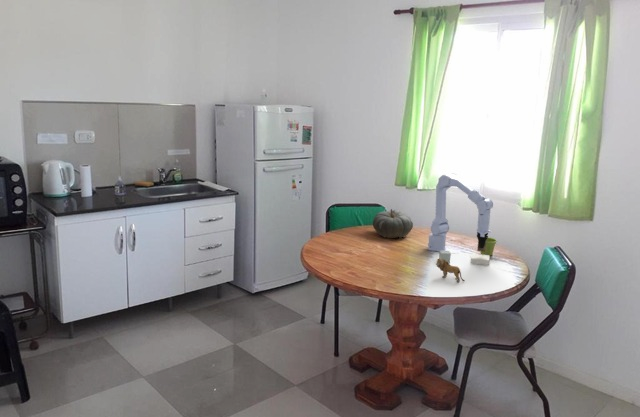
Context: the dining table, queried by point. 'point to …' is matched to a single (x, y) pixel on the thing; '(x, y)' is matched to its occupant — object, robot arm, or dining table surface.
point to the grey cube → (445, 255)
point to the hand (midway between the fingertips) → (481, 246)
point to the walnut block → (481, 248)
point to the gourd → (392, 224)
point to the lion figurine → (448, 269)
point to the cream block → (480, 259)
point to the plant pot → (489, 246)
